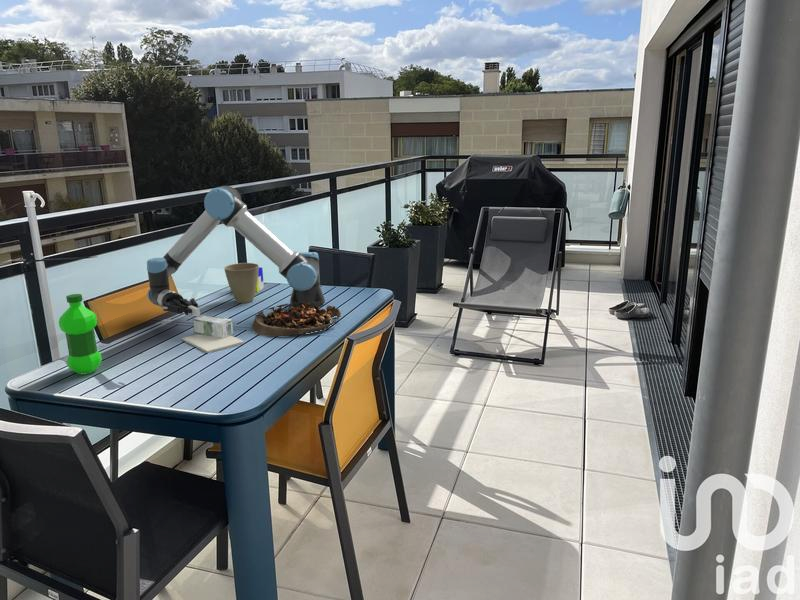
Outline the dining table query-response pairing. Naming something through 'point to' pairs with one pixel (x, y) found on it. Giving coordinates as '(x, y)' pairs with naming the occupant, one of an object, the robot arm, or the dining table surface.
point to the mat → (212, 342)
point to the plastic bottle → (80, 336)
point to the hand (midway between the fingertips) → (198, 312)
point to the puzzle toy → (260, 280)
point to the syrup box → (213, 326)
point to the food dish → (294, 320)
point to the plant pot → (242, 280)
